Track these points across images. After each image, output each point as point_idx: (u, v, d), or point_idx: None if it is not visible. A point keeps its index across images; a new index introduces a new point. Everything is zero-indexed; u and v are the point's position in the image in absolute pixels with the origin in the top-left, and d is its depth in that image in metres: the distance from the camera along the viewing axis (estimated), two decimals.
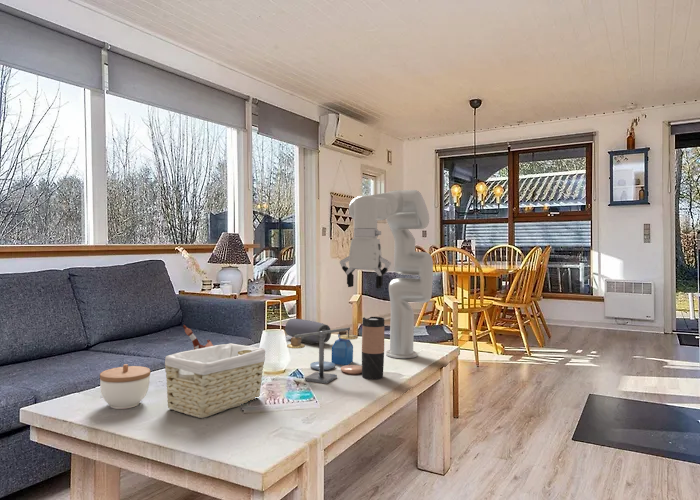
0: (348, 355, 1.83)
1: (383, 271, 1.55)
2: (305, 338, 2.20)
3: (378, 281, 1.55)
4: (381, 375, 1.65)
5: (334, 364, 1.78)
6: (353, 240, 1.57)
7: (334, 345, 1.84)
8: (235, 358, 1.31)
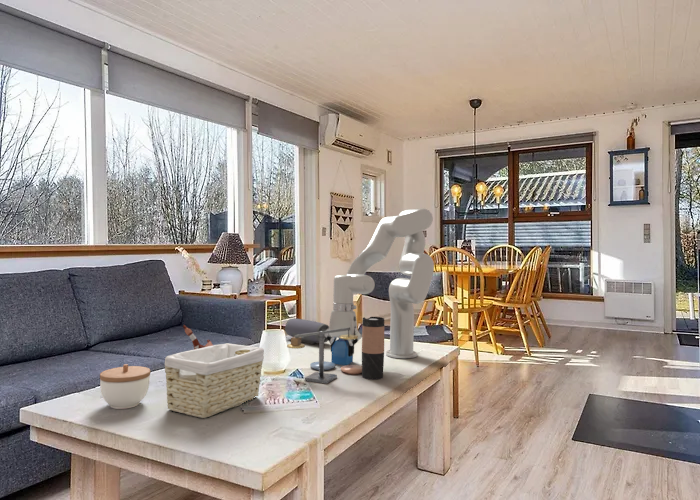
0: None
1: (354, 342, 1.83)
2: (305, 338, 2.20)
3: (350, 350, 1.83)
4: (381, 375, 1.65)
5: (334, 364, 1.78)
6: (332, 313, 1.85)
7: (334, 345, 1.84)
8: (236, 358, 1.31)
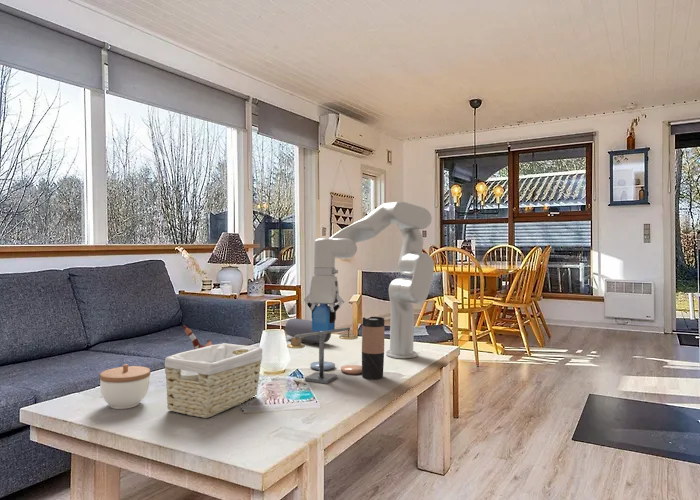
0: (329, 321, 1.75)
1: (336, 308, 1.75)
2: (305, 338, 2.20)
3: (331, 316, 1.75)
4: (381, 375, 1.65)
5: (334, 364, 1.78)
6: (313, 277, 1.77)
7: (315, 311, 1.76)
8: (237, 357, 1.32)
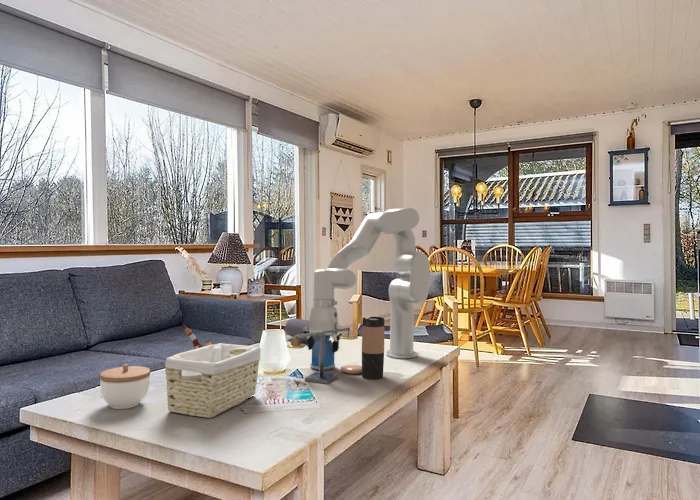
0: (329, 356, 1.75)
1: (338, 337, 1.74)
2: (305, 338, 2.20)
3: (334, 346, 1.75)
4: (381, 375, 1.65)
5: (334, 364, 1.78)
6: (312, 309, 1.77)
7: (314, 346, 1.76)
8: (238, 357, 1.32)
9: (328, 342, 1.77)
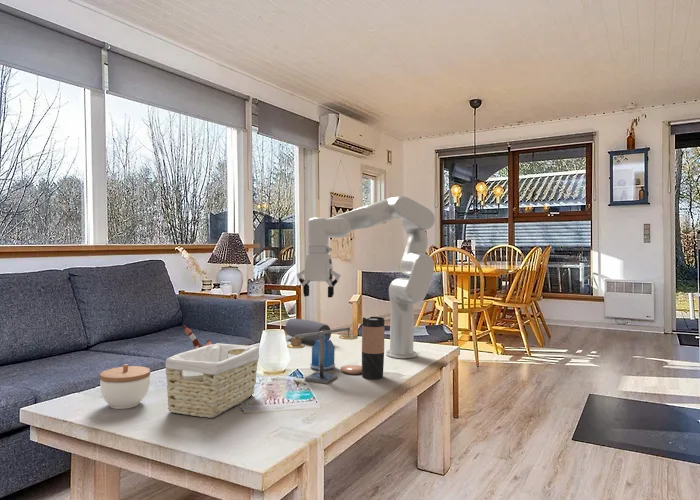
0: (329, 356, 1.75)
1: (333, 282, 1.80)
2: (305, 338, 2.20)
3: (329, 291, 1.80)
4: (381, 375, 1.65)
5: (334, 364, 1.78)
6: (308, 256, 1.82)
7: (314, 346, 1.76)
8: (239, 357, 1.33)
9: (328, 342, 1.77)
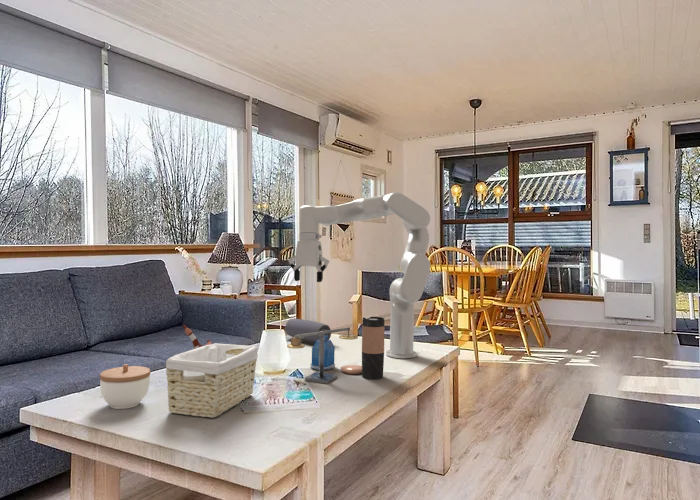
0: (329, 356, 1.75)
1: (322, 268, 1.88)
2: (305, 338, 2.20)
3: (318, 276, 1.88)
4: (381, 375, 1.65)
5: (334, 364, 1.78)
6: (298, 242, 1.90)
7: (314, 346, 1.76)
8: (239, 356, 1.33)
9: (328, 342, 1.77)
